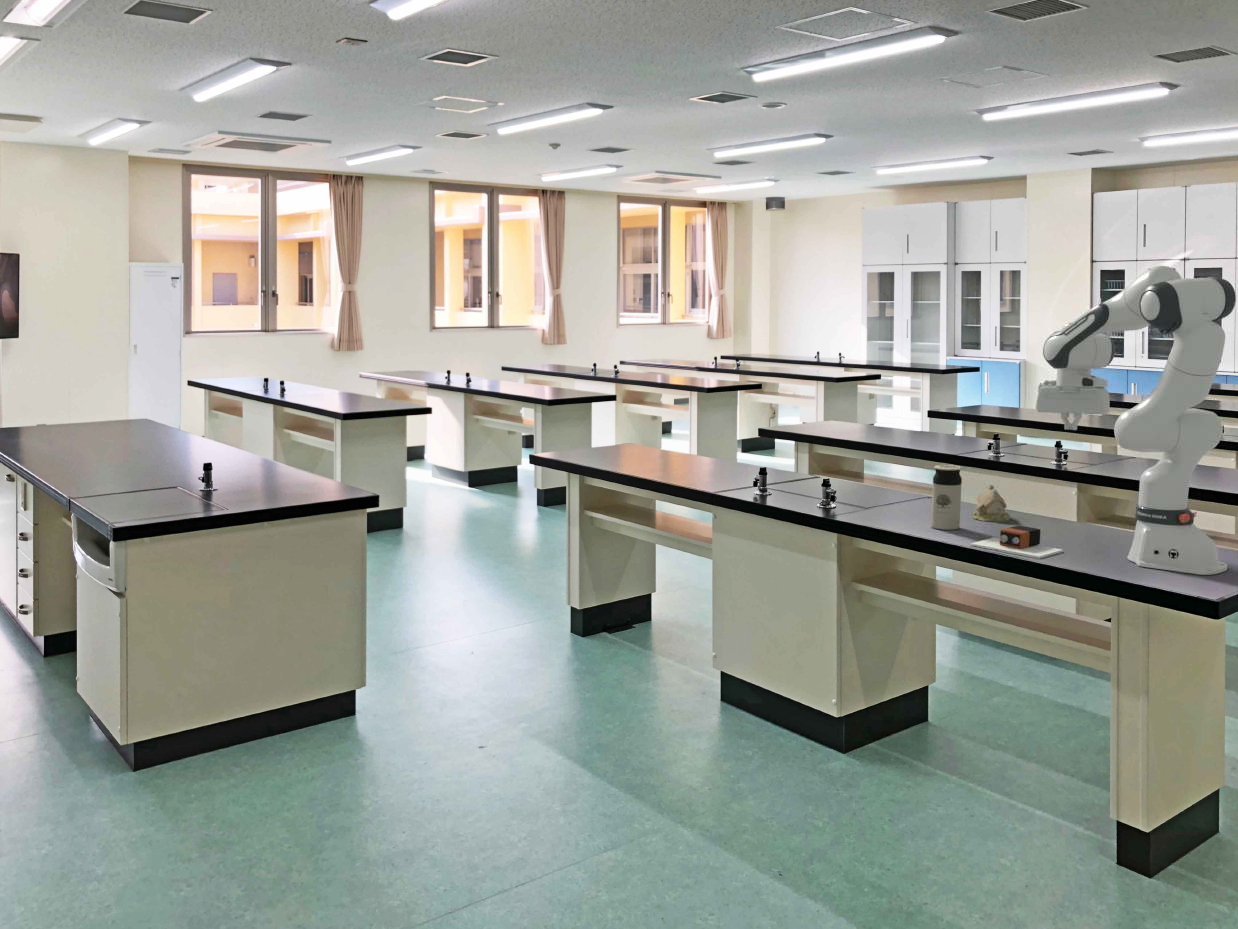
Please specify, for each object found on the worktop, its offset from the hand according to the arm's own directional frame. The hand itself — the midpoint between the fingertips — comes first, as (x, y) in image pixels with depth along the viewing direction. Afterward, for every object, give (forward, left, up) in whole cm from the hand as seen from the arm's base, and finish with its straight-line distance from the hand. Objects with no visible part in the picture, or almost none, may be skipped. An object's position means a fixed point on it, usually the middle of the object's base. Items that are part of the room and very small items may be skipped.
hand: (1070, 429), depth 310 cm
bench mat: (-2, +30, -30) cm, 42 cm away
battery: (-2, +23, -27) cm, 35 cm away
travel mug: (+26, +21, -30) cm, 44 cm away
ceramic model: (+26, -3, -30) cm, 40 cm away
